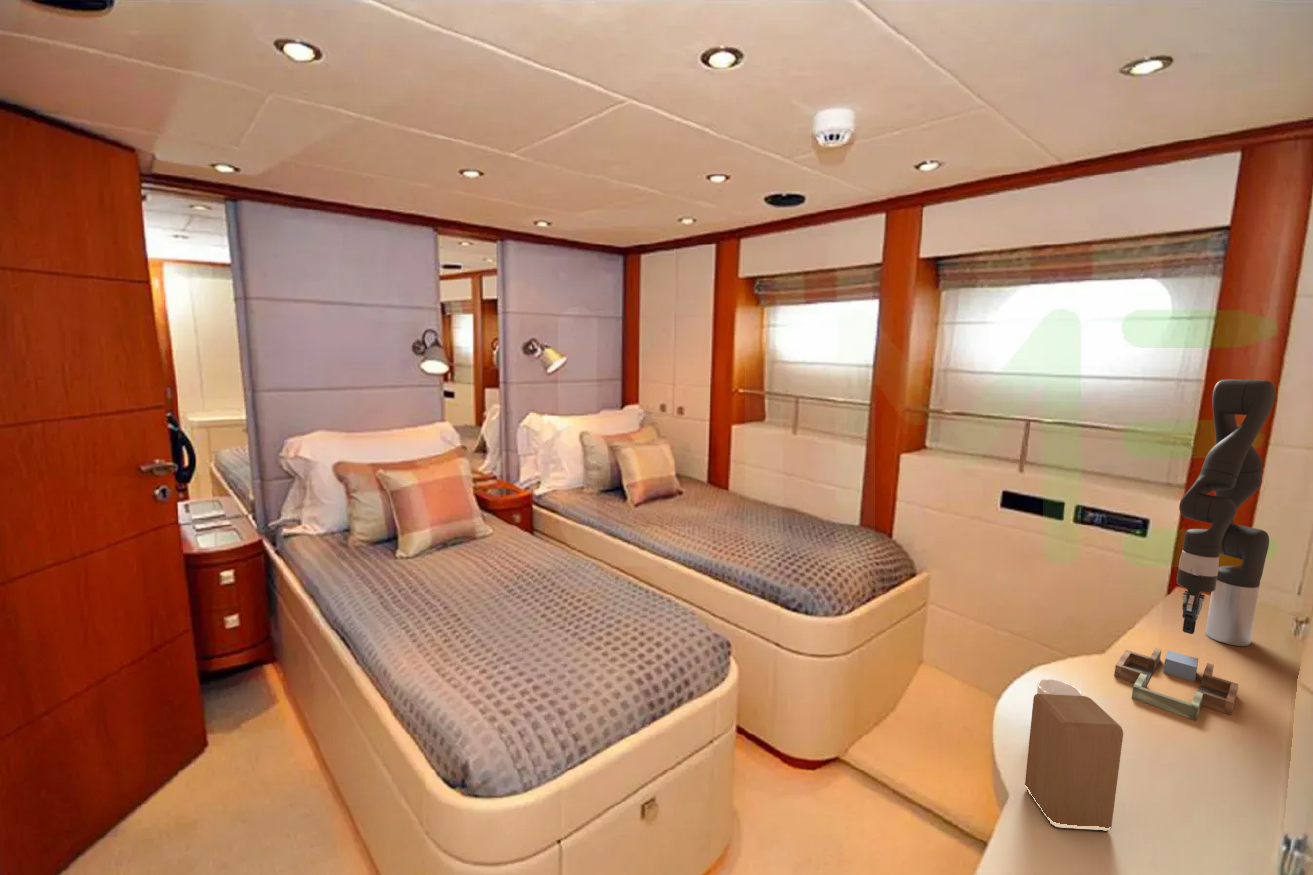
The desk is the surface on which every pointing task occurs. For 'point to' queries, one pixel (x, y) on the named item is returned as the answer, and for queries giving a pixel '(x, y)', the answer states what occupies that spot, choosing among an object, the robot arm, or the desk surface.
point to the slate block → (1180, 665)
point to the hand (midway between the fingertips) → (1188, 632)
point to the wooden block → (1073, 760)
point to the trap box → (1210, 695)
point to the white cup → (1056, 688)
